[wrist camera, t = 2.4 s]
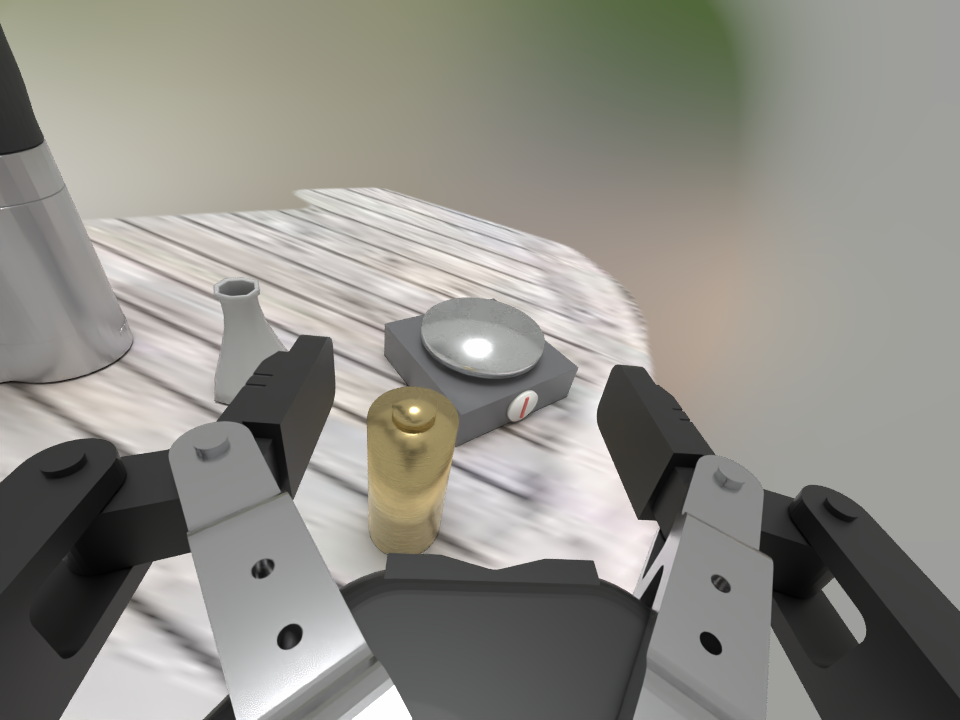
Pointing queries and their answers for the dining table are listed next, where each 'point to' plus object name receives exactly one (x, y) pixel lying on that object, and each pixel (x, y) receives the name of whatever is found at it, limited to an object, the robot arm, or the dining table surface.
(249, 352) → the flask
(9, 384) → the dining table surface
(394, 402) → the brass weight
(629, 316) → the dining table surface
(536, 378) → the base
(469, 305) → the scale pan
